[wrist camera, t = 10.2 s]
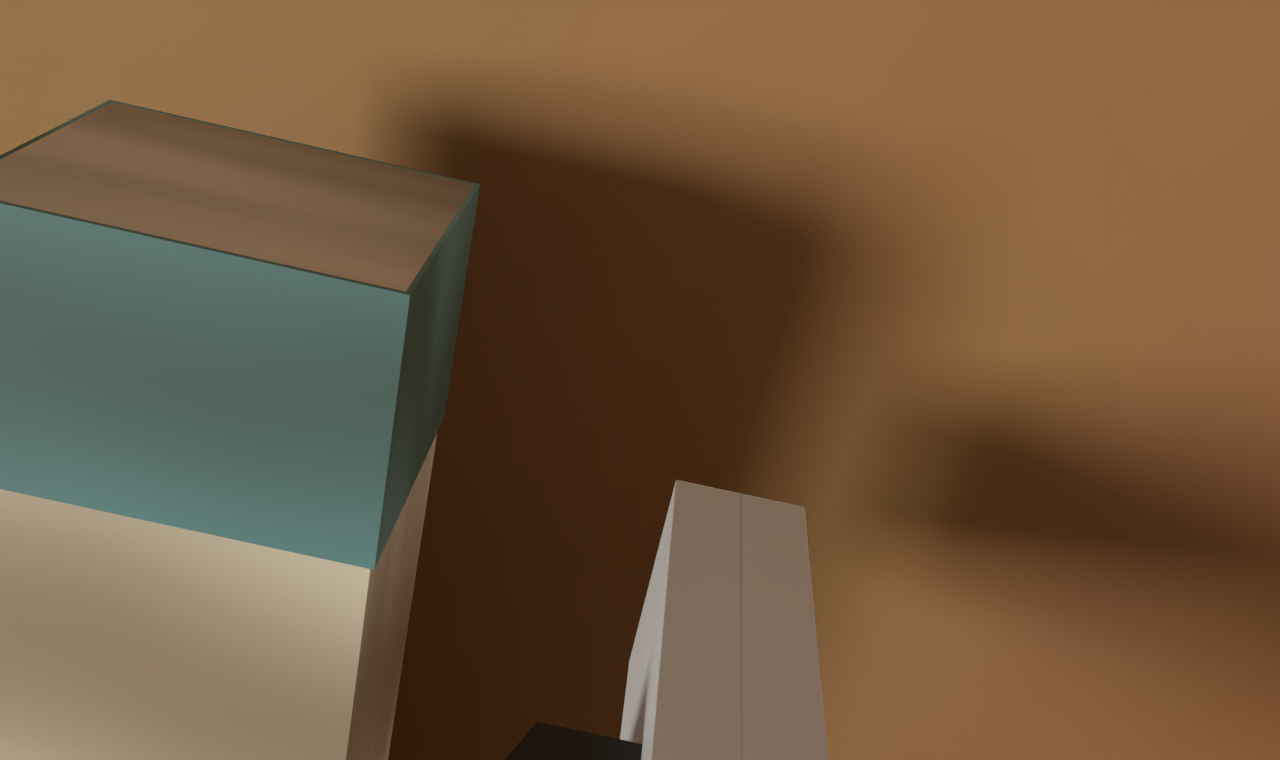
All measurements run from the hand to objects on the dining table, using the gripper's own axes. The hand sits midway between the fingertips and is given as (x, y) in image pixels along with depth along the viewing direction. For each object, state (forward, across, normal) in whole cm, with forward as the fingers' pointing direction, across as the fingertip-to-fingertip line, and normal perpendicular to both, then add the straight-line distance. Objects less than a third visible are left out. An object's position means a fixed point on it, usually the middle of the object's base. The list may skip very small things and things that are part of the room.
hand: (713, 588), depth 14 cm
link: (+1, +6, +9) cm, 10 cm away
